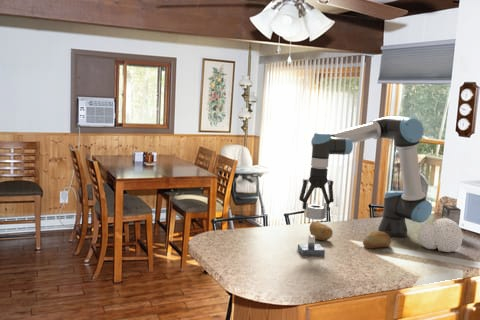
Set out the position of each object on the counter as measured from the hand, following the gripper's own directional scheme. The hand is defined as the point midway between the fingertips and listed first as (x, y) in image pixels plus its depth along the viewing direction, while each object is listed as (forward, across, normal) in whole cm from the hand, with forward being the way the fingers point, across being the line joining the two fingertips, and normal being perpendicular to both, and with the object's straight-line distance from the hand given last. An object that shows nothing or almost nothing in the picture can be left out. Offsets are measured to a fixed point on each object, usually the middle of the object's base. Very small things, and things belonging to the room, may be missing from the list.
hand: (314, 216), depth 216 cm
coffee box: (+15, -83, -29) cm, 89 cm away
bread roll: (+16, -35, -8) cm, 39 cm away
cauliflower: (+16, -64, -4) cm, 66 cm away
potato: (+16, -10, -19) cm, 27 cm away
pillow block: (+16, +1, +2) cm, 17 cm away
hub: (0, 0, 0) cm, 0 cm away
